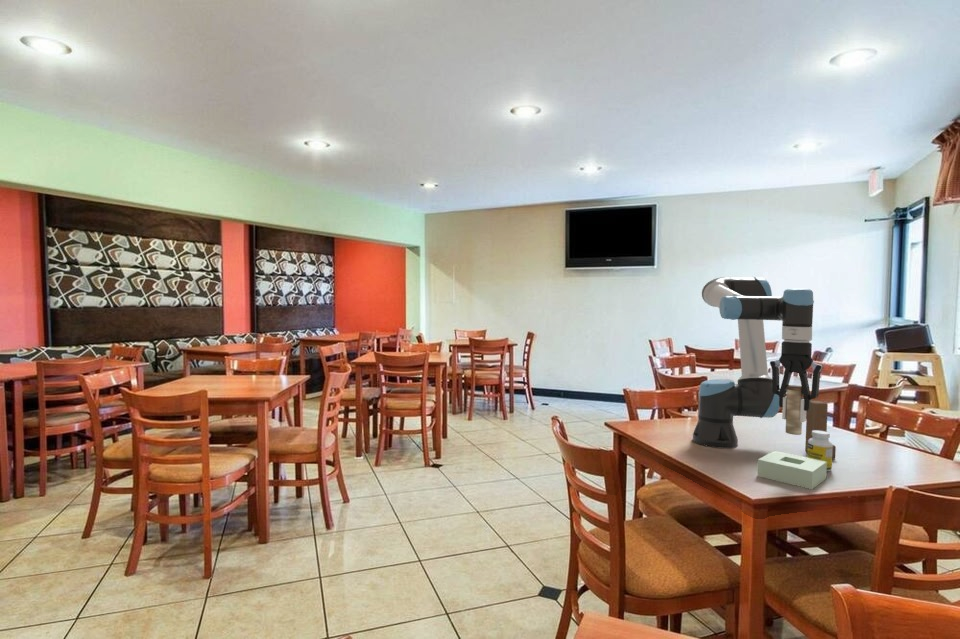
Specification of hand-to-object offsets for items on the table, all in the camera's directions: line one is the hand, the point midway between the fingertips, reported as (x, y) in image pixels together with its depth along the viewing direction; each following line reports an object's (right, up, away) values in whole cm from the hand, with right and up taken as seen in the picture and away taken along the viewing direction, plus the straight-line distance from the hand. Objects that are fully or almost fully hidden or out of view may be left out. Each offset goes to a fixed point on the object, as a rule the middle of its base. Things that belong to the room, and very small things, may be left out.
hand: (793, 419), depth 147 cm
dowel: (0, -4, 0) cm, 4 cm away
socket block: (0, -17, +1) cm, 17 cm away
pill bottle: (+14, -17, +9) cm, 24 cm away
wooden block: (+24, -17, +23) cm, 37 cm away
